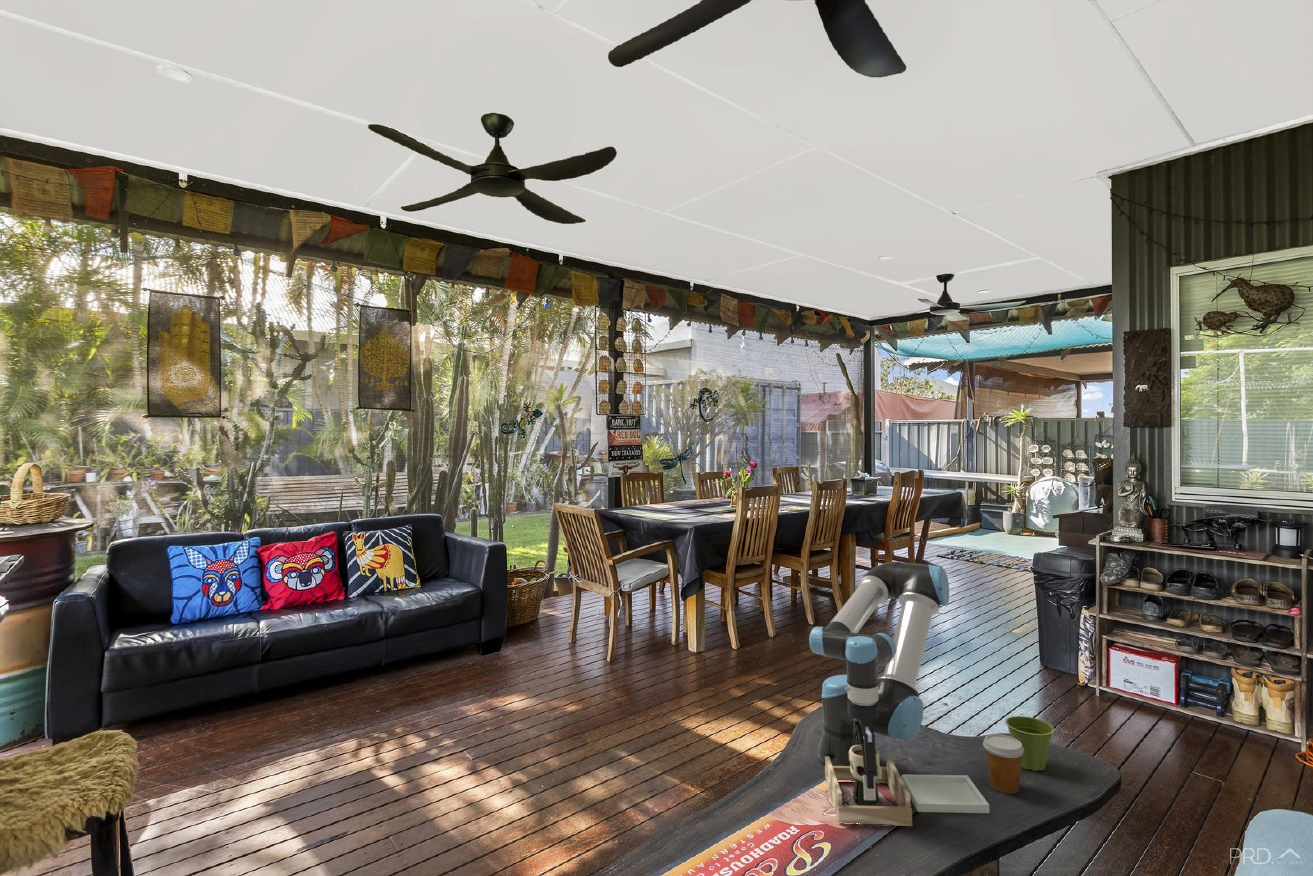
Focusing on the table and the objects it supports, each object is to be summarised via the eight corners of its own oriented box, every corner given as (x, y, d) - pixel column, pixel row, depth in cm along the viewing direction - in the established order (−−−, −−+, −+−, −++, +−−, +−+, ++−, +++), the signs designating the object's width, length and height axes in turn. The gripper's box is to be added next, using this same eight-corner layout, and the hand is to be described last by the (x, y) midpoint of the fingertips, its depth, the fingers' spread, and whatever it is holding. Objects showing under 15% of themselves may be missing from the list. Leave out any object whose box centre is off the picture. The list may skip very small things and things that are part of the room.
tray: (901, 782, 175) (901, 774, 175) (967, 783, 174) (967, 775, 174) (917, 811, 161) (917, 803, 161) (989, 813, 160) (989, 805, 160)
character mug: (840, 795, 169) (838, 745, 169) (860, 788, 173) (859, 738, 173) (871, 816, 160) (869, 763, 160) (892, 808, 163) (891, 756, 163)
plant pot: (1045, 781, 173) (1043, 738, 173) (998, 764, 183) (997, 724, 183) (1062, 766, 181) (1061, 725, 181) (1017, 751, 190) (1016, 712, 190)
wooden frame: (825, 780, 177) (824, 754, 177) (890, 781, 175) (889, 755, 175) (839, 824, 157) (838, 795, 157) (912, 826, 155) (911, 796, 155)
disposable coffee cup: (1031, 799, 165) (1029, 751, 165) (990, 796, 167) (988, 749, 167) (1018, 779, 174) (1016, 734, 174) (979, 777, 176) (978, 732, 176)
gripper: (839, 684, 177) (842, 767, 177) (856, 718, 156) (859, 813, 156) (868, 684, 176) (870, 768, 176) (889, 718, 155) (892, 814, 155)
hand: (865, 789), depth 166 cm, fingers closed on character mug, 9 cm apart
